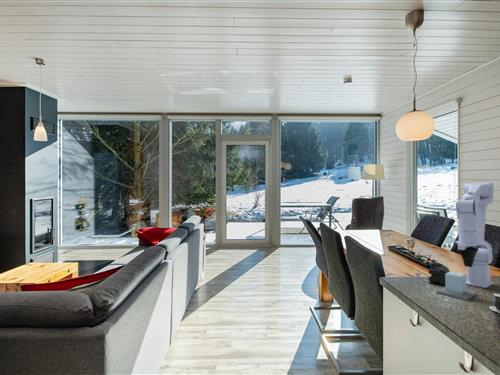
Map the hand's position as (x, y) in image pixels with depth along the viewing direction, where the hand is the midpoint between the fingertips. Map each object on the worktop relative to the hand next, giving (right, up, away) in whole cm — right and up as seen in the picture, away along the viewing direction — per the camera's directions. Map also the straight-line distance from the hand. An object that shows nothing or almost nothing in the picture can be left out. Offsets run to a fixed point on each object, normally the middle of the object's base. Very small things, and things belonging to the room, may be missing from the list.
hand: (468, 266), depth 117 cm
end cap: (-2, -11, +14) cm, 18 cm away
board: (-5, -11, 0) cm, 12 cm away
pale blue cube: (-5, -10, 0) cm, 11 cm away
